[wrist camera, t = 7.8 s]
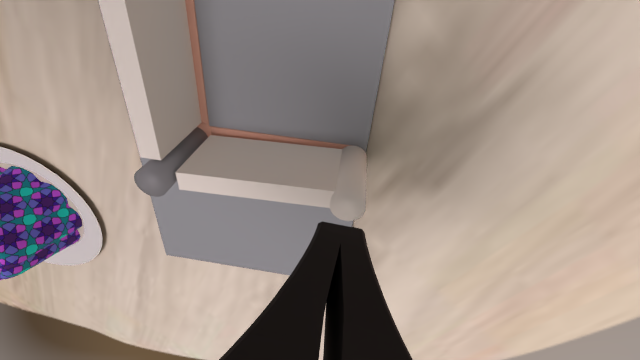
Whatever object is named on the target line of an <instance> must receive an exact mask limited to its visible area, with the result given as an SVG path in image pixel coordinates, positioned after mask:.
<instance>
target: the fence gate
mask: <svg viewBox="0 0 640 360" xmlns="http://www.w3.org/2000/svg"><path fill="white" fill-rule="evenodd" d="M175 173H176V178H177V182H178V186H179V190H187V191H195V192H203V193H211V194H219V195H227V196H236V197H244V198H252V199H260V200H268V201H276V202H284V203H292V204H300V205H308V206H316V207H325V208H330V210H331V212H332V214H333V215H334V216H335V217H337V218H339V219H341V220H344V221H353V220H356V219H359V218H360V217H361V216H362V215H363V214H364V212H365V208H366V176H367V155H366V153H365V151H364V150H363V149H362V148H360V147H358V146H347V147H345V148H343V149H336V148H326V147H317V146H308V145H299V144H289V143H280V142H271V141H261V140H252V139H243V138H234V137H224V136H215V135H210V136H209V137H208V138H207V139H206V140H205V141H204V142H203V143H202V144H201V145H200V147H199V148H198V149H197V150H196V151H195V152H194V153H193V154H192V155H191V156H190V157H189V158H188V159H187V160H186V161H185V163H184V164H183V165H182V166H181V167H180V168H179V169H178V170H177V171H176V172H175Z"/></svg>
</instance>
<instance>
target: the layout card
mask: <svg viewBox="0 0 640 360" xmlns="http://www.w3.org/2000/svg"><path fill="white" fill-rule="evenodd" d="M394 1H395V0H185V4H186V11H187V18H188V26H189V33H190V41H191V48H192V55H193V63H194V70H195V78H196V85H197V92H198V100H199V107H200V115H201V122H202V123H200V124H199V125H198V126H197V127H199V128H200V129H202V130H203V131H204V132H205V133H206V134H207V136H208V137H209V136H210V135H215V136H224V137H234V138H243V139H252V140H261V141H271V142H280V143H289V144H299V145H308V146H317V147H326V148H336V149H343V148H345V147H347V146H358V147H360V148H362V149H363V150H364V151H365V153H366V150H367V145H368V139H369V134H370V129H371V123H372V118H373V113H374V107H375V102H376V97H377V91H378V86H379V81H380V75H381V70H382V65H383V59H384V54H385V49H386V43H387V38H388V33H389V27H390V22H391V17H392V11H393V6H394ZM98 3H99V1H98ZM99 6H100V5H99ZM100 10H101V9H100ZM101 14H102V13H101ZM102 18H103V16H102ZM103 21H104V20H103ZM104 25H105V24H104ZM105 29H106V27H105ZM106 32H107V31H106ZM107 36H108V35H107ZM108 40H109V39H108ZM109 44H110V42H109ZM110 47H111V46H110ZM111 51H112V50H111ZM112 55H113V53H112ZM113 58H114V57H113ZM114 62H115V61H114ZM115 66H116V65H115ZM116 70H117V68H116ZM117 73H118V72H117ZM118 77H119V76H118ZM119 81H120V79H119ZM120 84H121V83H120ZM121 88H122V87H121ZM122 92H123V91H122ZM123 96H124V94H123ZM124 99H125V98H124ZM125 103H126V102H125ZM126 107H127V106H126ZM127 110H128V109H127ZM128 114H129V113H128ZM129 118H130V117H129ZM130 122H131V120H130ZM131 125H132V124H131ZM132 129H133V128H132ZM133 133H134V132H133ZM134 136H135V135H134ZM135 140H136V139H135ZM136 144H137V143H136ZM137 147H138V146H137ZM138 151H139V150H138ZM139 155H140V154H139ZM140 159H141V162H142V166H143V165H144V164H146V163H147V162H148V161H149V160H150V159H148V158H141V157H140ZM151 199H152V203H153V207H154V211H155V214H156V218H157V222H158V225H159V229H160V233H161V237H162V240H163V244H164V248H165V251H166V255H171V256H177V257H183V258H189V259H195V260H201V261H207V262H213V263H219V264H225V265H231V266H237V267H243V268H249V269H255V270H261V271H267V272H273V273H279V274H285V275H291V273H292V272H293V270H294V269H295V267H296V266H297V264H298V263H299V261H300V259H301V258H302V256H303V255H304V253H305V251H306V249H307V247H308V246H309V244H310V242H311V240H312V238H313V236H314V233H315V231H316V228H317V225H318V223H320V222H322V221H323V222H328V223H333V224H338V225H343V226H349V227H352V225H353V221H344V220H341V219H339V218H337V217H335V216H334V215H333V214H332V212H331V210H330V208H325V207H316V206H308V205H300V204H292V203H284V202H276V201H268V200H260V199H252V198H244V197H236V196H227V195H219V194H211V193H203V192H195V191H187V190H179V186H178V182H177V181H176V182H175V184H174V185H173V186H172V187H171V188H170V189H169V190H168V191H167V192H166V194H165V195H163V196H160V197H154V196H151Z"/></svg>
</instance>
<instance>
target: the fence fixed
mask: <svg viewBox="0 0 640 360" xmlns="http://www.w3.org/2000/svg"><path fill="white" fill-rule="evenodd" d="M98 1H99V5H100V9H101V13H102V16H103V20H104V24H105V27H106V31H107V35H108V39H109V42H110V46H111V50H112V53H113V57H114V61H115V65H116V68H117V72H118V76H119V79H120V83H121V87H122V91H123V94H124V98H125V102H126V106H127V109H128V113H129V117H130V120H131V124H132V128H133V132H134V135H135V139H136V143H137V146H138V150H139V154H140V157H141V158H148V159H150V160H149V161H148V162H147V163H146V164H144V165H143V166H142V167H141V168H140V169H139V170H138V171H137V172H136V173H135V175H134V179H135V183H136V184H137V186H138V187H139V188H140V189H141V190H142V191H143V192H144V193H146V194H148V195H150V196H154V197H160V196H163V195H165V194H166V192H167V191H168V190H169V189H170V188H171V187H172V186H173V185H174V184H175V182H176V181H177V178H176V173H175V172H176V171H177V170H178V169H179V168H180V167H181V166H182V165H183V164H184V163H185V161H186V160H187V159H188V158H189V157H190V156H191V155H192V154H193V153H194V152H195V151H196V150H197V149H198V148H199V147H200V145H201V144H202V143H203V142H204V141H205V140H206V139H207V138H208V136H207V134H206V133H205V132H204V131H203V130H202V129H200V128H199V127H197V126H198V125H199V124H200V123H202V122H201V115H200V107H199V100H198V92H197V85H196V78H195V70H194V63H193V55H192V48H191V41H190V33H189V26H188V18H187V11H186V4H185V0H98Z"/></svg>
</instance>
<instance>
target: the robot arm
mask: <svg viewBox="0 0 640 360" xmlns="http://www.w3.org/2000/svg"><path fill="white" fill-rule="evenodd" d="M325 306H326V319H325V337H324V356H323V360H412V358H411V356H410V354H409V352H408V350H407V348H406V346H405V344H404V342H403V340H402V338H401V336H400V333H399V331H398V329H397V327H396V325H395V322H394V320H393V318H392V315H391V313H390V311H389V309H388V306H387V304H386V301H385V299H384V296H383V293H382V291H381V288H380V285H379V283H378V280H377V277H376V274H375V271H374V268H373V265H372V262H371V258H370V255H369V251H368V247H367V243H366V239H365V233H364V231H363V230H362V229H359V228H354V227H349V226H343V225H338V224H333V223H328V222H323V221H322V222H320V223H318V225H317V228H316V231H315V233H314V236H313V238H312V240H311V242H310V244H309V246H308V247H307V249H306V251H305V253H304V255H303V256H302V258H301V259H300V261H299V263H298V264H297V266H296V267H295V269H294V270H293V272H292V273H291V275H290V276H289V278H288V279H287V281H286V282H285V283H284V285H283V286H282V287H281V289H280V290H279V292H278V293H277V294H276V296H275V297H274V298H273V300H272V301H271V302H270V303H269V305H268V306H267V307H266V308H265V310H264V311H263V312H262V313H261V314H260V316H259V317H258V318H257V319H256V320H255V321H254V323H253V324H252V325H251V326H250V327H249V328H248V330H247V331H246V332H245V333H244V334H243V335H242V336H241V337H240V338H239V339H238V340H237V341H236V343H235V344H234V345H233V346H232V347H231V348H230V349H229V350H228V351H227V352H226V353H225V354H224V355H223V356H222V357H221V358H220V359H219V360H318V358H319V350H320V342H321V333H322V325H323V317H324V311H325Z"/></svg>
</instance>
